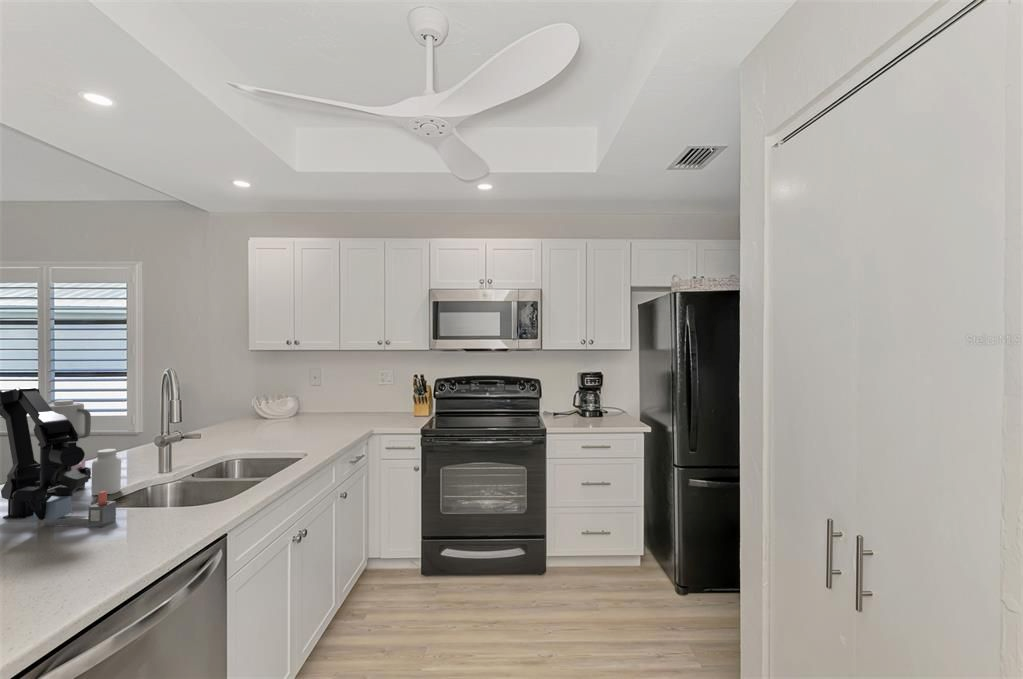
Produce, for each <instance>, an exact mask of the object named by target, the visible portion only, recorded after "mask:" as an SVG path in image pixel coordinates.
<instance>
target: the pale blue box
mask: <svg viewBox="0 0 1023 679" xmlns="http://www.w3.org/2000/svg"><path fill="white" fill-rule="evenodd" d="M50 496H51V498H50V499H49V500H48V501H47V502H46V513H45V519H44V520H56V519H58V518H60V517H63V516H68V515H69V514H72V496H56V495H50ZM33 520H34V521H35V520H36V521H37V520H38V521H40V520H39V519H38V517H37V516H36V514H35V513H34V515H33ZM44 520H43V521H44Z"/></svg>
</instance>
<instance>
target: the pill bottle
mask: <svg viewBox="0 0 1023 679" xmlns="http://www.w3.org/2000/svg"><path fill="white" fill-rule="evenodd" d="M96 456H97V457H96V458H95V459H94V460H93V461H92V463H91V489H90V490H91V495H93V496H95V495H98V492H101V491H107V494H110V495H114V494H117V493H119V492H120V491H121V485H122V484H121V483H122V482H121V481H122V480H121V479H122V459H121V457H119V456H117V449H116V448H105V449H99V450H98V451H96Z"/></svg>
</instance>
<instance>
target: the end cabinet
mask: <svg viewBox="0 0 1023 679" xmlns="http://www.w3.org/2000/svg"><path fill="white" fill-rule="evenodd" d="M116 512H117V500H107V504H106V505H98V502H97V503H94V504H92V505H90V506H88V513H87V516H88V526H87V527H88V528H91V529H92V528H105V527H106V526H109V525H111V524H113V523H114V522H116V520H117V518H116V516H117V513H116Z"/></svg>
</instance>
